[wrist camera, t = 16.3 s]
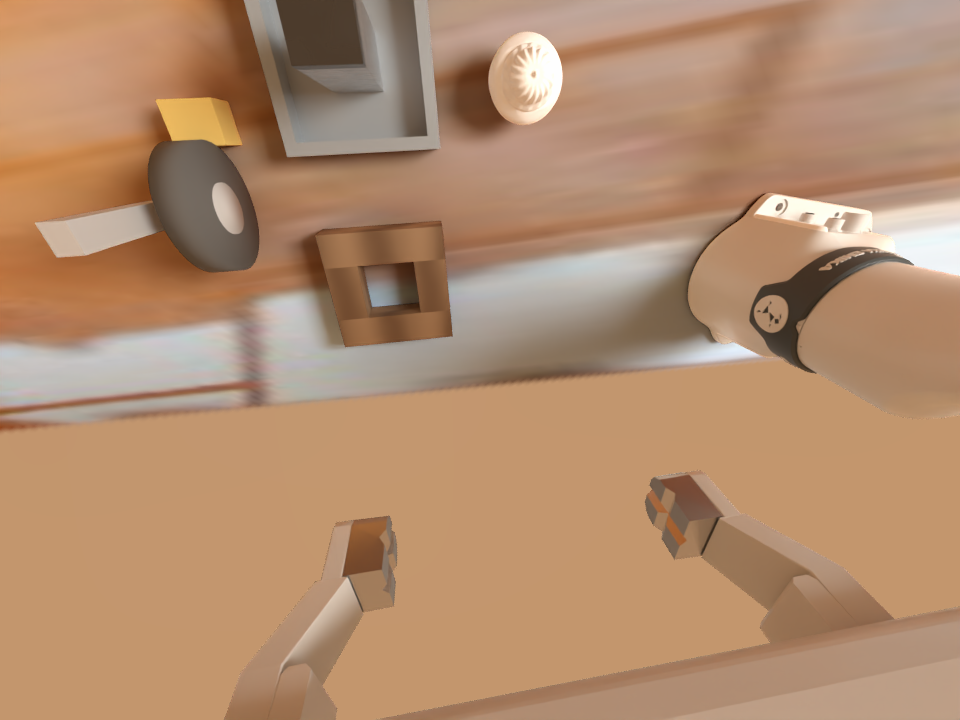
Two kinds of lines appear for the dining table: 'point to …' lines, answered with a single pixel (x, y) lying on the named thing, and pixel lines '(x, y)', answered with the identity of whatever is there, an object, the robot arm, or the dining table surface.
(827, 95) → the dining table surface
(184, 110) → the grey disc with lever
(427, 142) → the tray
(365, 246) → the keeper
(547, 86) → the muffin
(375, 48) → the pin
